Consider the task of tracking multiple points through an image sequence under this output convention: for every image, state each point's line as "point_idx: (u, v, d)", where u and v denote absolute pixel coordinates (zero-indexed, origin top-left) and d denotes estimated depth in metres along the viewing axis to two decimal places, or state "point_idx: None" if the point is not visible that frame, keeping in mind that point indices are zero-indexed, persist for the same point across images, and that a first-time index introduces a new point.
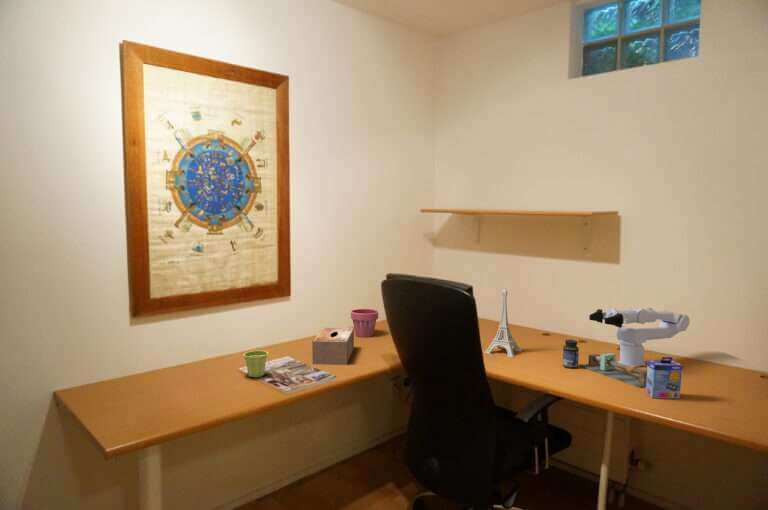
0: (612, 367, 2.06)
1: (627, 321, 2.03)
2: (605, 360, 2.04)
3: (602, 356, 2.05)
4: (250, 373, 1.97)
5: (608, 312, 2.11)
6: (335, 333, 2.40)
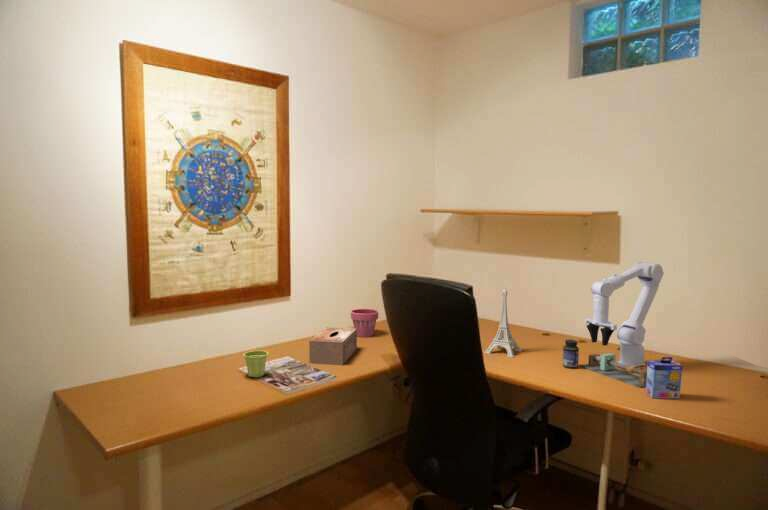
0: (612, 367, 2.06)
1: (615, 327, 2.03)
2: (605, 360, 2.04)
3: (602, 356, 2.05)
4: (250, 373, 1.97)
5: None
6: None
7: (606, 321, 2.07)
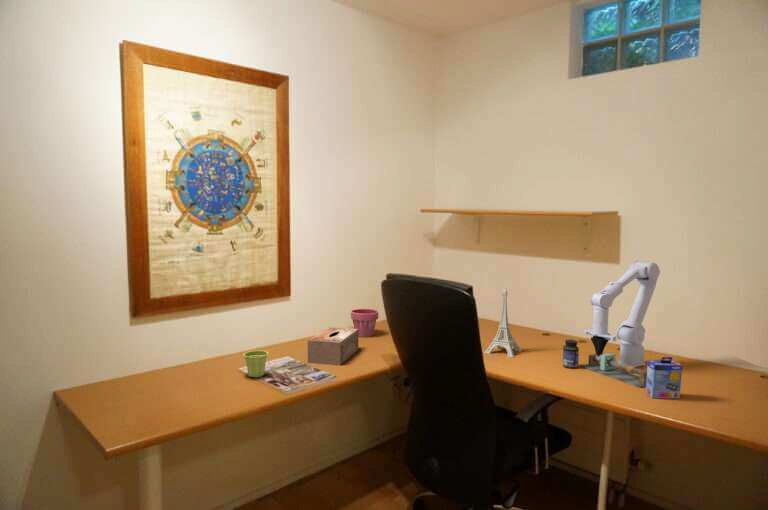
0: (612, 367, 2.06)
1: (614, 338, 2.03)
2: (605, 360, 2.04)
3: (602, 356, 2.05)
4: (250, 373, 1.97)
5: None
6: None
7: (606, 332, 2.07)
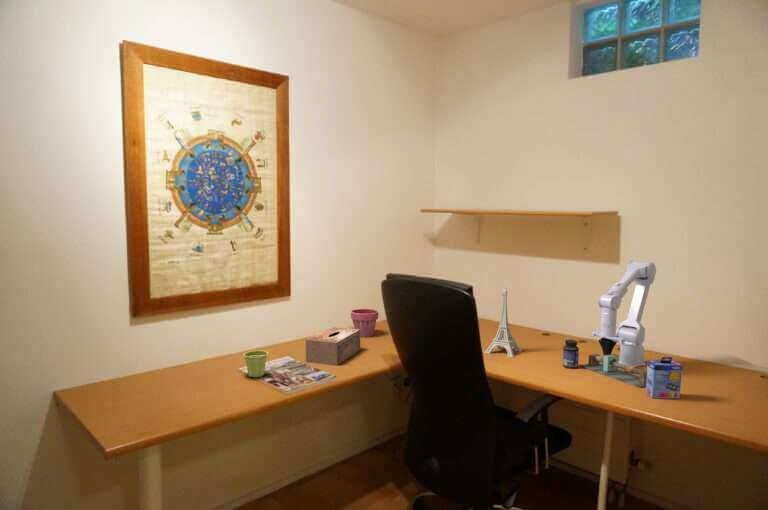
0: (615, 368, 2.05)
1: (623, 341, 1.99)
2: (608, 361, 2.03)
3: (605, 357, 2.04)
4: (250, 373, 1.97)
5: None
6: None
7: (614, 335, 2.03)
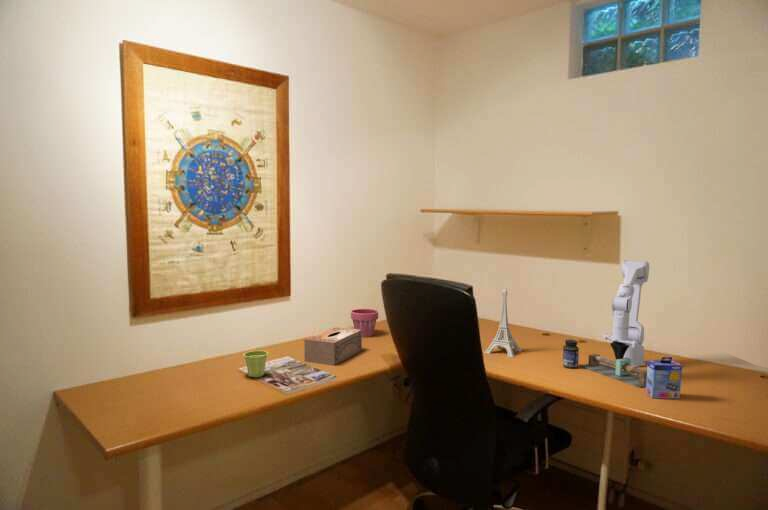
0: (628, 372, 2.00)
1: (636, 344, 1.94)
2: (620, 365, 1.98)
3: (617, 361, 1.98)
4: (250, 373, 1.97)
5: None
6: None
7: (626, 338, 1.98)
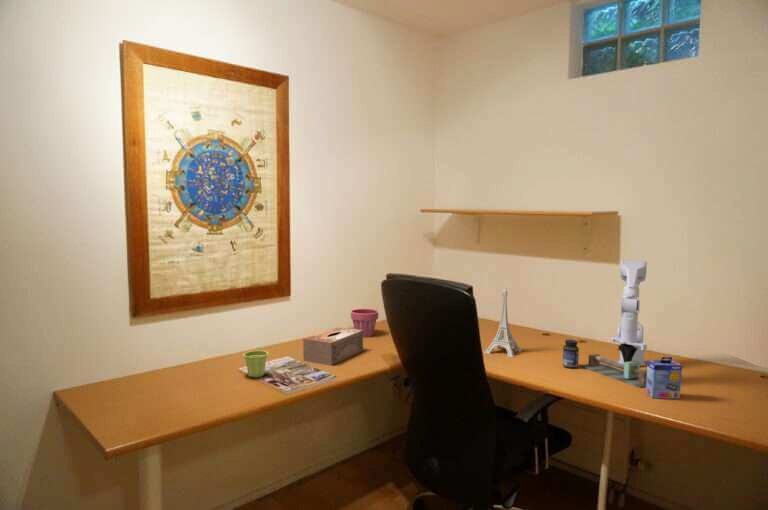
0: (636, 375, 1.96)
1: (645, 347, 1.91)
2: (629, 368, 1.94)
3: (626, 364, 1.95)
4: (250, 373, 1.97)
5: None
6: None
7: (635, 340, 1.95)
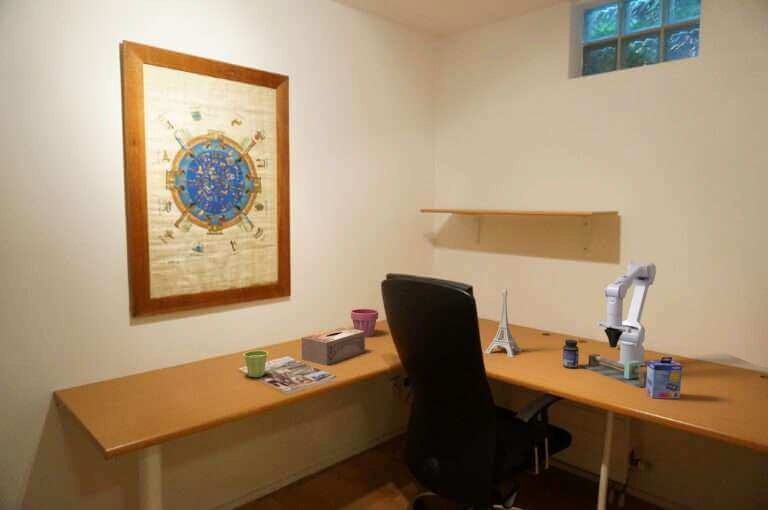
0: (636, 375, 1.96)
1: (629, 330, 1.98)
2: (629, 368, 1.94)
3: (626, 364, 1.95)
4: (250, 373, 1.97)
5: None
6: None
7: (620, 324, 2.02)
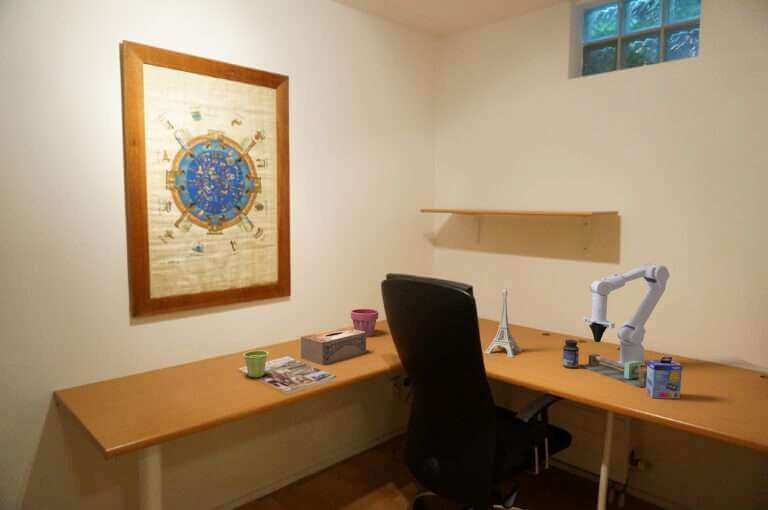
0: (636, 375, 1.96)
1: (613, 325, 2.06)
2: (629, 368, 1.94)
3: (626, 364, 1.95)
4: (250, 373, 1.97)
5: None
6: None
7: (604, 319, 2.10)
